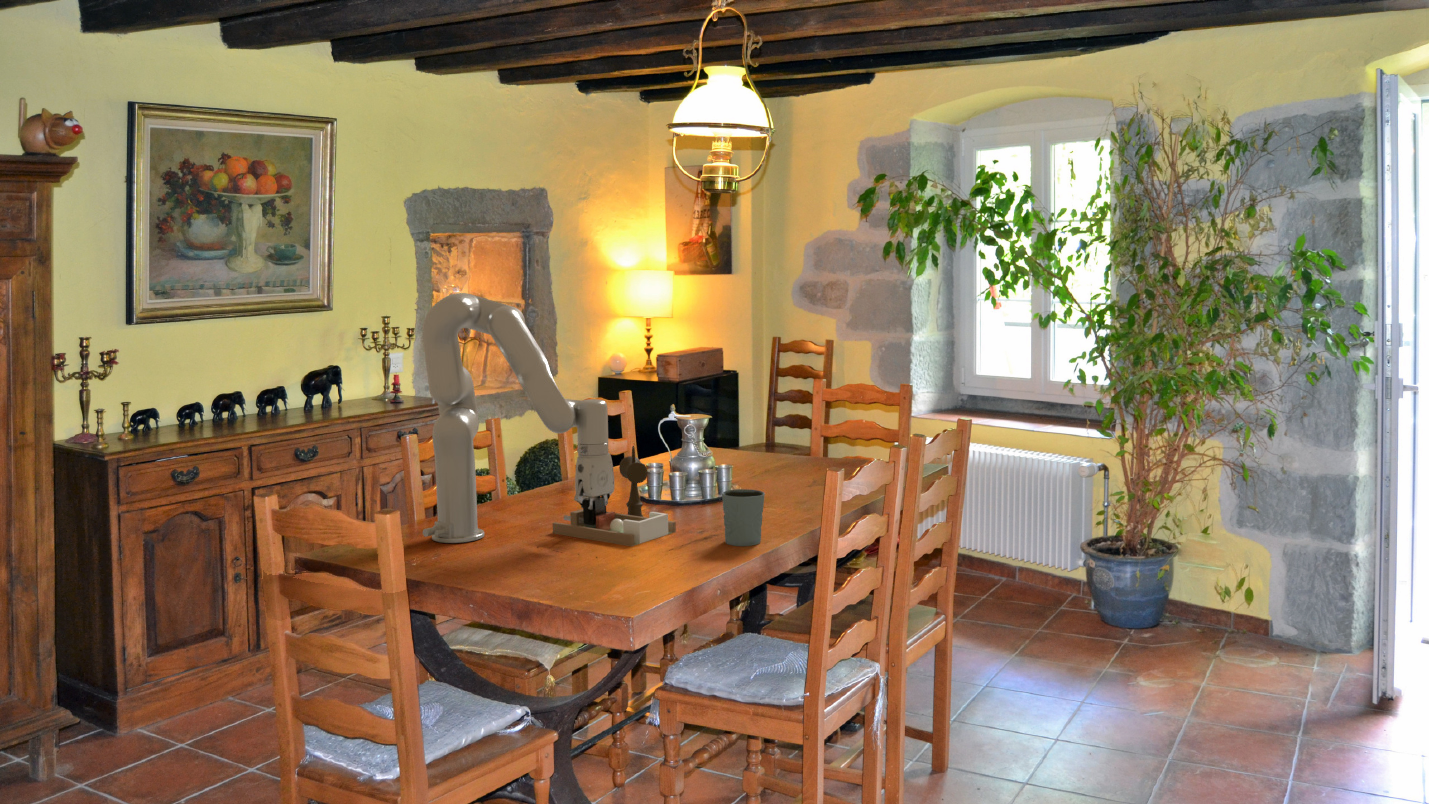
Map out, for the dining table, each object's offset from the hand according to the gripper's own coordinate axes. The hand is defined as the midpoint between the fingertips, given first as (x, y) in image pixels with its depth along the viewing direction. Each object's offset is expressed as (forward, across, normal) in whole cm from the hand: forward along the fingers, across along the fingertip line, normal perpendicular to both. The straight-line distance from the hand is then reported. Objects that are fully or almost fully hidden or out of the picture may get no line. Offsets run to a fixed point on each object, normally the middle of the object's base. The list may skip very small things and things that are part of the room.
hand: (595, 522), depth 285 cm
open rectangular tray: (+3, 0, -6) cm, 7 cm away
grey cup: (+3, +13, -36) cm, 38 cm away
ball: (+2, 0, -7) cm, 7 cm away
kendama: (+3, +16, 0) cm, 16 cm away
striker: (+2, 0, +3) cm, 3 cm away
